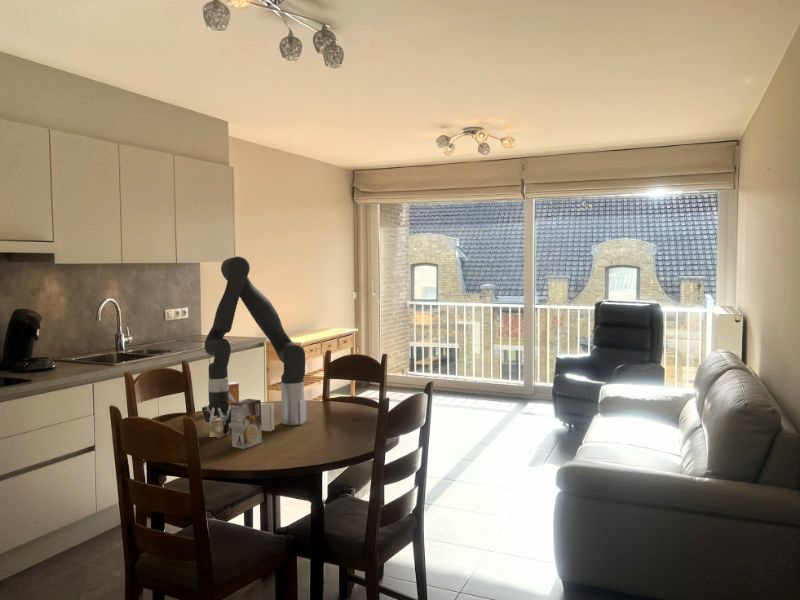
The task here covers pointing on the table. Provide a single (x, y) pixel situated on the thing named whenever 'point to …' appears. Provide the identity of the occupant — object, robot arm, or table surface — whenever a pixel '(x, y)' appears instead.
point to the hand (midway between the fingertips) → (219, 433)
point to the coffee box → (246, 423)
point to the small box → (233, 392)
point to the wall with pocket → (267, 416)
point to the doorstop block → (217, 428)
